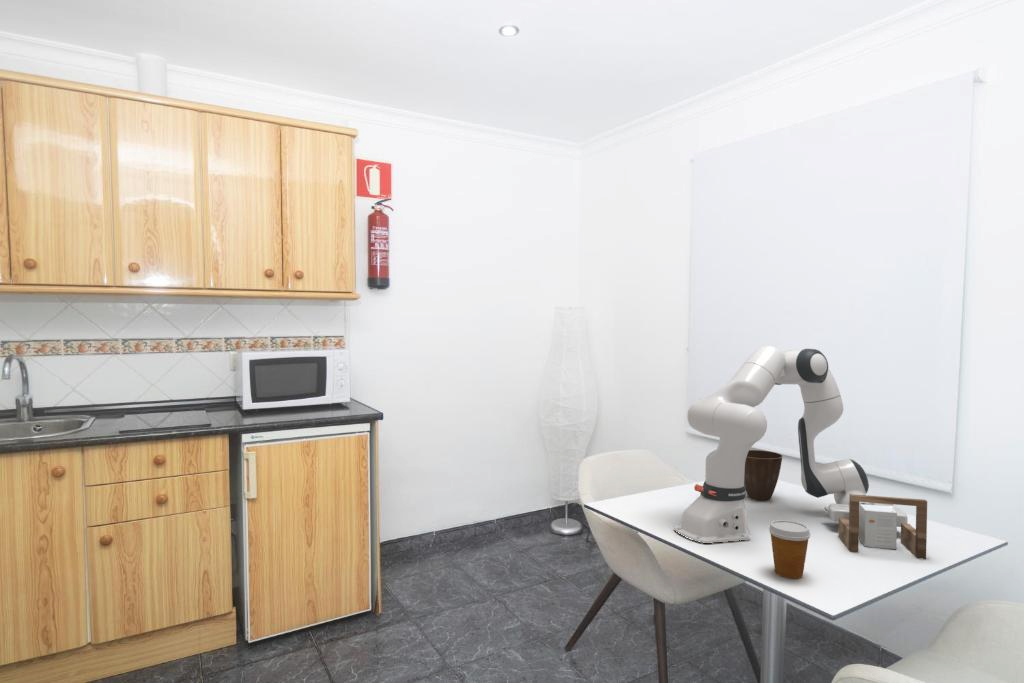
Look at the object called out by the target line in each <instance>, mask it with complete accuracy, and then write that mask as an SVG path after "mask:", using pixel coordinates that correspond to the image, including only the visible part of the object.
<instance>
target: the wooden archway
mask: <svg viewBox="0 0 1024 683" xmlns="http://www.w3.org/2000/svg"><path fill="white" fill-rule="evenodd" d="M859 502H869V503H882V504H893V505H896V506H911V507H915V527H913V526H912V525H911V523H907V524H905V523H901V527H900V543H901V544H902V545H903V546H904V547H905V548H906V549H907V550H908V551H909V552H911V554H912V555H913V556H914V557H915V558H916V559H919V558H923V559H922V560H926V559H927V542H928V541H927V537H928V536H927V535H928V534H927V533H928V500H926V499H922V498H921V499H920V498H906V497H895V496H893V497H891V496H879V495H868V494H867V495H866V494H865V495H854V494H850V497H849V521H848V520H847V519H845V518H839V522H838V529H837V530H838V533H837V534H838V535H837V537H838V538H839V539H840V541H841V542H842V544H844V546H845V547H846V548H847V550H848V552H850V553H859V544H860V543H859V541H860V540H859Z"/></svg>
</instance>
